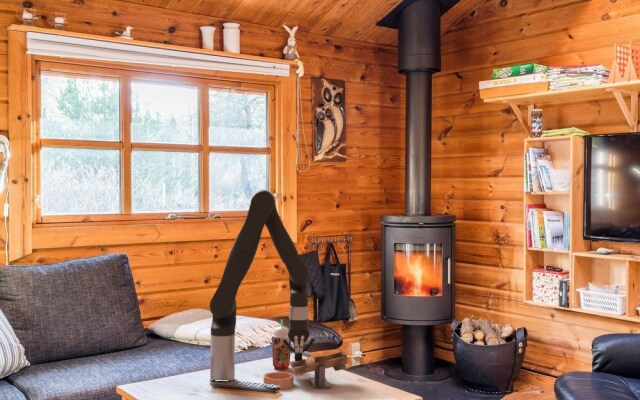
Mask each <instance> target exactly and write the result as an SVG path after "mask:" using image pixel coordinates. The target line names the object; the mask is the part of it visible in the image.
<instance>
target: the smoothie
mask: <svg viewBox="0 0 640 400" xmlns="http://www.w3.org/2000/svg"><path fill="white" fill-rule="evenodd" d="M283 324H284V323H283V319H280V325H279V326H277V327H276V328H274V330H273V331H272V333H271V335H270V336H271V352H272V367H274V368H273V369H274V370H276V371H285V370H288V369H289V367H290V366H291V365H290V362H291V353H292V352H291V351H290V349H289V348H288V347H287V346H286V344H285V343H284V342H283V340H282V339H283V338H285V337H286V336H288V332H289V327H287V326H283ZM288 343H289V344H290V345H291V346H292V341H291V340H290V338H289V342H288Z"/></svg>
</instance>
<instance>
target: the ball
mask: <svg viewBox="0 0 640 400" xmlns="http://www.w3.org/2000/svg"><path fill="white" fill-rule="evenodd" d="M314 358H315V357H313V356H308V357H306V358H305V360H306V364H307V365H309V364H314V363H315V359H314Z"/></svg>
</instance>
